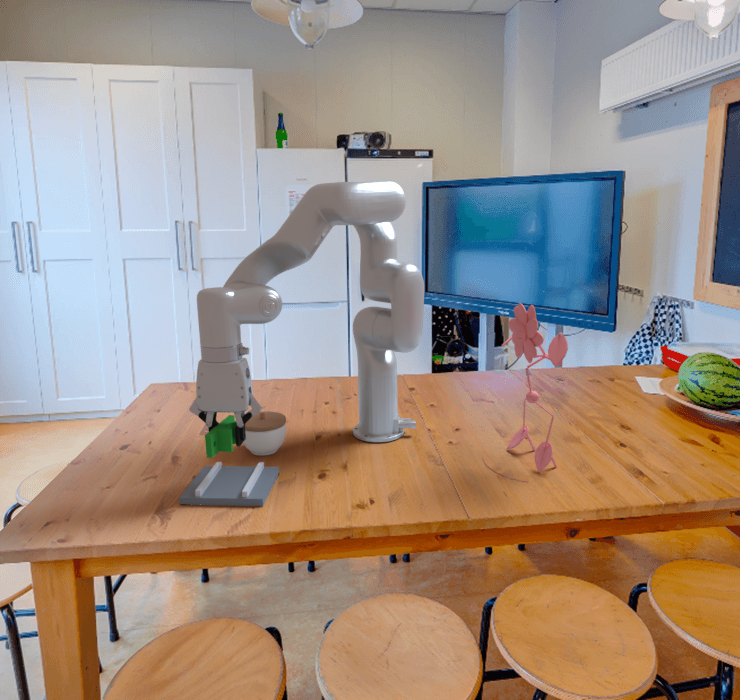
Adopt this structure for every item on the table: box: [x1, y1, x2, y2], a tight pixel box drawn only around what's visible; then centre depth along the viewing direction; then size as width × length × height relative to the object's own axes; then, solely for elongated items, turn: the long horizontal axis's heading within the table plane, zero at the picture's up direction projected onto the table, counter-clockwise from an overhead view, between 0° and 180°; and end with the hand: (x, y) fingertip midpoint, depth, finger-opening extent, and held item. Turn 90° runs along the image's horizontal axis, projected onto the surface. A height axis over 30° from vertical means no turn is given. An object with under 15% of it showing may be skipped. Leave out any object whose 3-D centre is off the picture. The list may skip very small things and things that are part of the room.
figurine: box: [483, 302, 569, 483], centre depth 121 cm, size 15×26×35 cm, turn 13°
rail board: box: [178, 461, 280, 507], centre depth 115 cm, size 16×14×3 cm
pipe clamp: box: [204, 414, 237, 459], centre depth 112 cm, size 11×4×5 cm, turn 170°
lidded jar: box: [242, 411, 287, 457], centre depth 132 cm, size 11×11×9 cm
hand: (228, 442), depth 112 cm, fingers closed on pipe clamp, 4 cm apart
